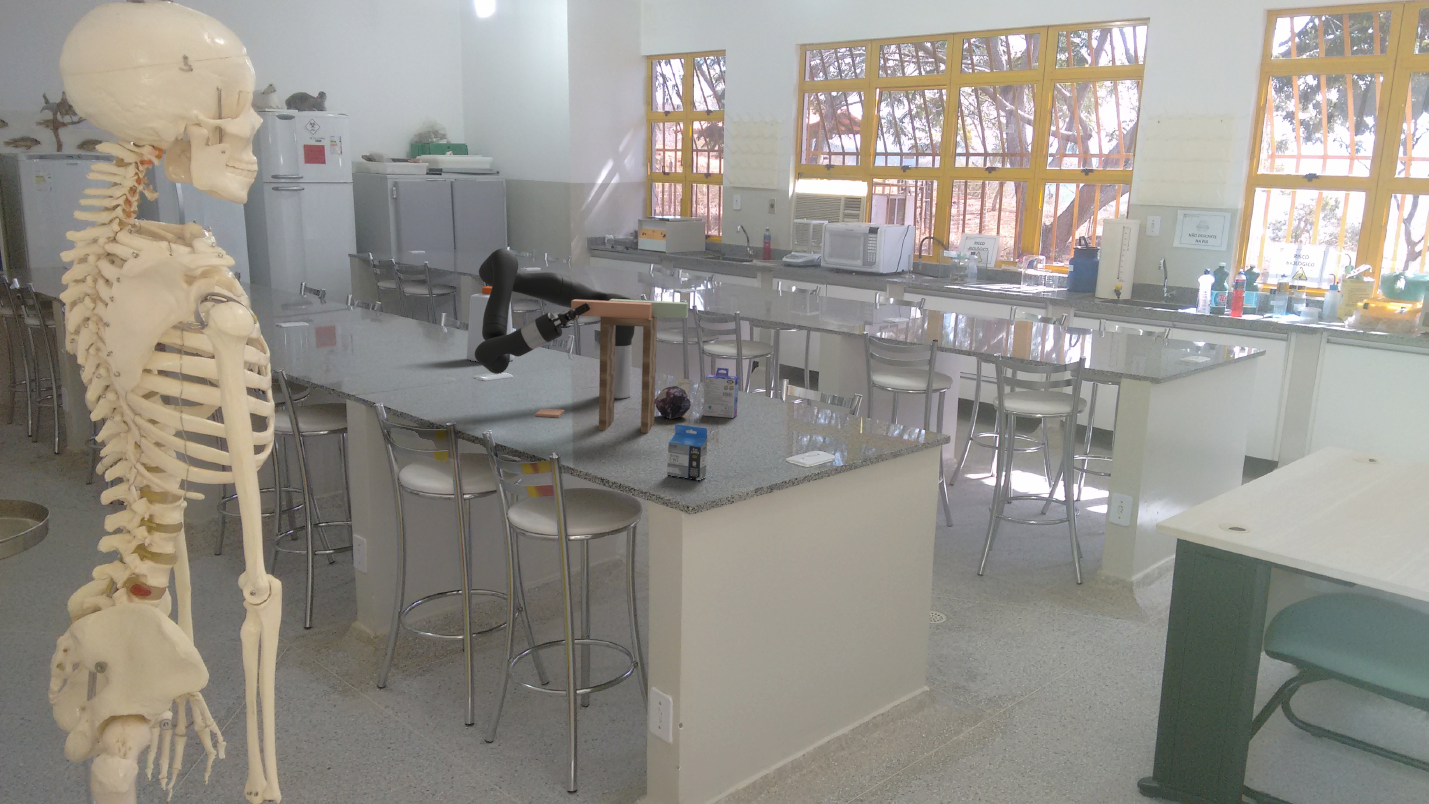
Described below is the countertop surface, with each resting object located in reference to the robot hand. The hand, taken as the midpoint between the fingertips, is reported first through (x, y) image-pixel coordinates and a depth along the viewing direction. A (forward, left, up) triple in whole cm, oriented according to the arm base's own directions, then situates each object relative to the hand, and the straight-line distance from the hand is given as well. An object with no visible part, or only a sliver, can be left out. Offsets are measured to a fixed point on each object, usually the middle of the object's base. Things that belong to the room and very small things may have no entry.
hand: (591, 304), depth 289 cm
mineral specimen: (-19, +21, -35) cm, 45 cm away
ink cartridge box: (-25, +35, -35) cm, 56 cm away
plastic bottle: (-99, -60, -35) cm, 121 cm away
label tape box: (+45, +33, -35) cm, 66 cm away
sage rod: (-6, +15, -3) cm, 16 cm away
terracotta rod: (0, +6, -3) cm, 6 cm away
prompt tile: (-13, -15, -35) cm, 40 cm away
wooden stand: (-3, +10, -35) cm, 37 cm away
